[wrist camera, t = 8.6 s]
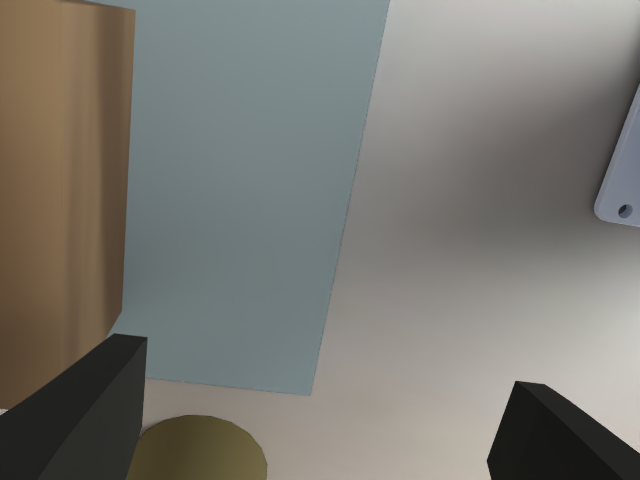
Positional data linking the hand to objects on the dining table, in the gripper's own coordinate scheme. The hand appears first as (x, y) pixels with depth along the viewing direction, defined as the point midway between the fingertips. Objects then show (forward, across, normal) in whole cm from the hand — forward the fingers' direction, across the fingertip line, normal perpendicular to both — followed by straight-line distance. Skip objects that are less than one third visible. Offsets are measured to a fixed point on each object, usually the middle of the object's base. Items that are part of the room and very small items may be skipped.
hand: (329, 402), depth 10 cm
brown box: (+9, +8, -1) cm, 12 cm away
